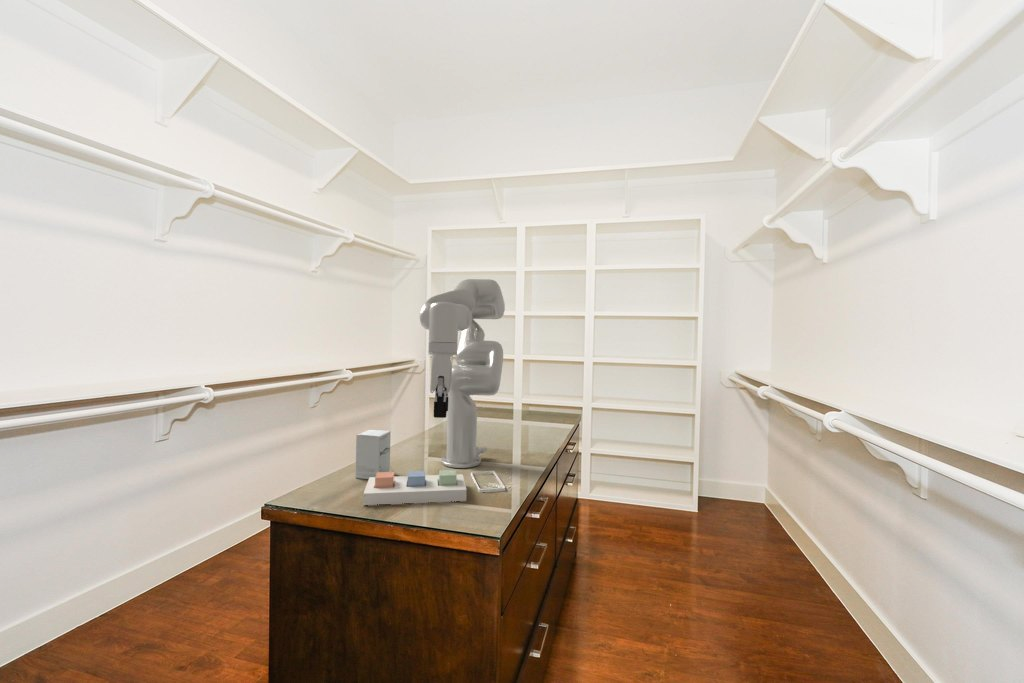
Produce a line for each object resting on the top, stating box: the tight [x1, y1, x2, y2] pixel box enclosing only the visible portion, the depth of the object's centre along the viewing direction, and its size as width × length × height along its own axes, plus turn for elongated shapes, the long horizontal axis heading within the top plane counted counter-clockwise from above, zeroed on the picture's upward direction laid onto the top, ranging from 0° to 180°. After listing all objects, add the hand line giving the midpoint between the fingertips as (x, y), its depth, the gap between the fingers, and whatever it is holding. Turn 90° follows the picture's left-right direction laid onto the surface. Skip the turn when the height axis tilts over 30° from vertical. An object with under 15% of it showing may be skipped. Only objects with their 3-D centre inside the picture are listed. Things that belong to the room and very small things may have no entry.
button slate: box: [407, 470, 426, 487], centre depth 121 cm, size 4×4×3 cm
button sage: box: [438, 469, 457, 486], centre depth 123 cm, size 4×4×3 cm
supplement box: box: [355, 429, 391, 480], centre depth 135 cm, size 7×7×13 cm
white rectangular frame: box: [470, 470, 506, 494], centre depth 132 cm, size 7×1×15 cm
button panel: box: [362, 473, 467, 506], centre depth 121 cm, size 25×12×3 cm, turn 101°
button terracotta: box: [375, 471, 395, 488], centre depth 120 cm, size 4×4×3 cm
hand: (441, 414), depth 123 cm, fingers open, 9 cm apart
